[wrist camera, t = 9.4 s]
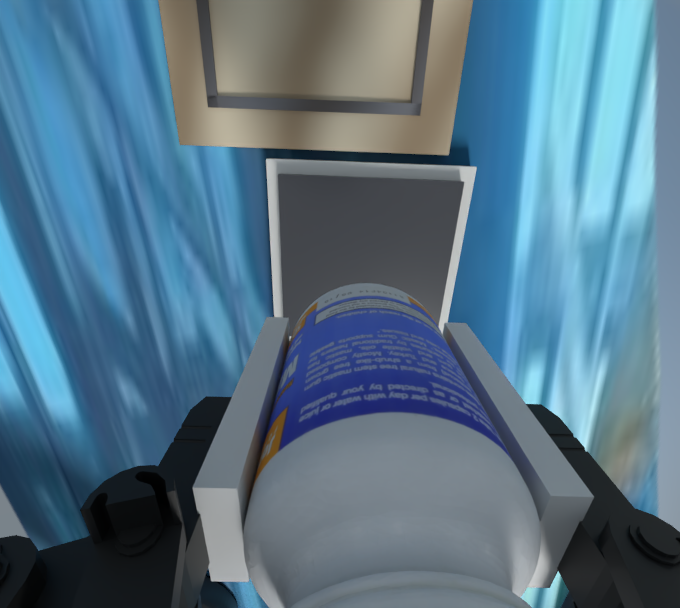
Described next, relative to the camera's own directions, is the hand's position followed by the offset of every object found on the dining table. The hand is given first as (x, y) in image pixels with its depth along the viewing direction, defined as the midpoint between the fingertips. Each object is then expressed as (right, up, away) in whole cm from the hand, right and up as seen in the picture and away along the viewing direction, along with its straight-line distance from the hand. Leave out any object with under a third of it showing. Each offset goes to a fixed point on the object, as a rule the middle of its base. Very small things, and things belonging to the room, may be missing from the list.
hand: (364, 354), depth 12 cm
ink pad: (+1, +5, +9) cm, 10 cm away
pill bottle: (0, 0, +1) cm, 1 cm away
